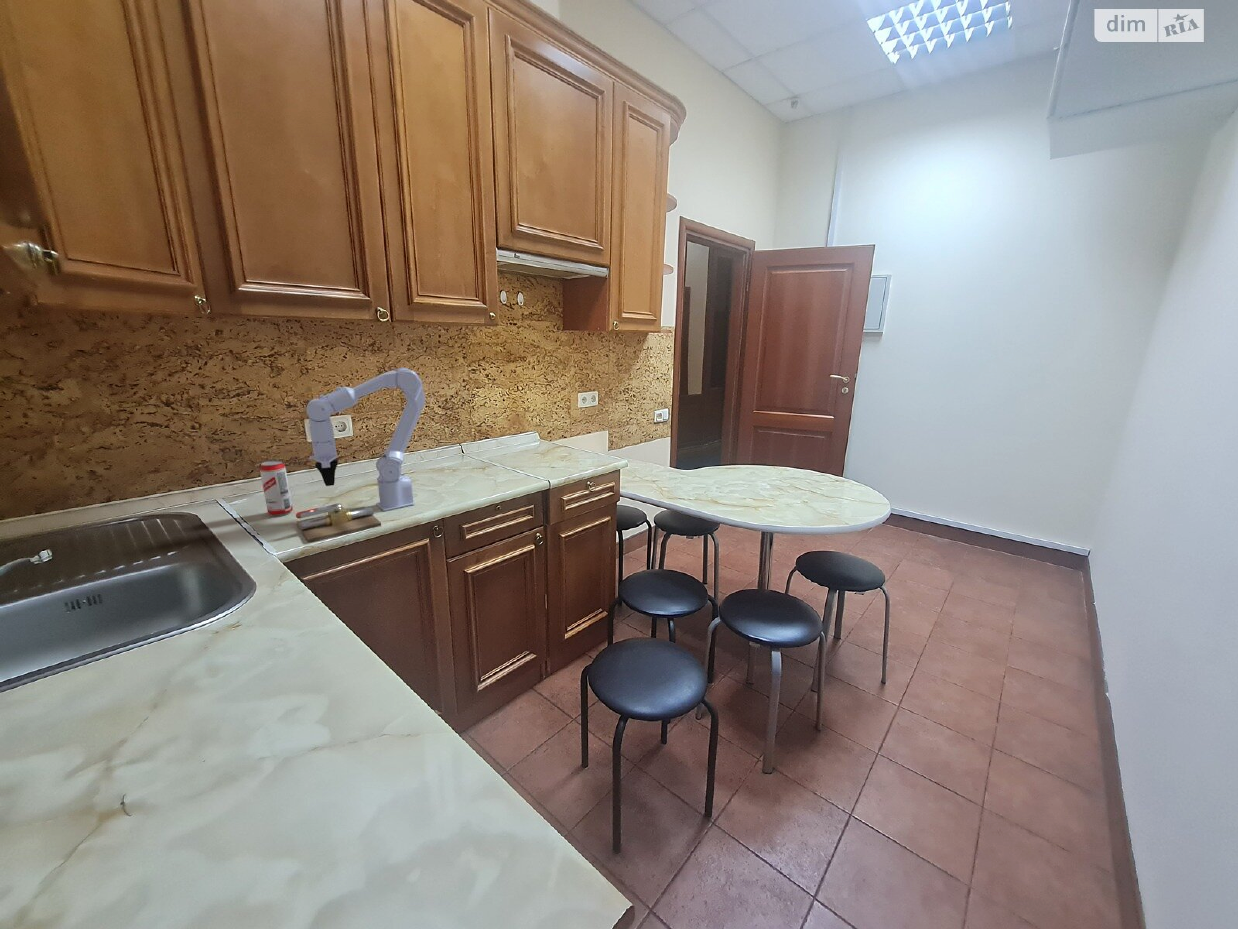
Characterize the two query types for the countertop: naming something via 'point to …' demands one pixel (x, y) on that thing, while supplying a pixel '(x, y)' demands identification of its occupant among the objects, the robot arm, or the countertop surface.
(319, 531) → the walnut board
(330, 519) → the valve body
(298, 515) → the valve lever
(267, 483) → the beer can
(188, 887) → the countertop surface
